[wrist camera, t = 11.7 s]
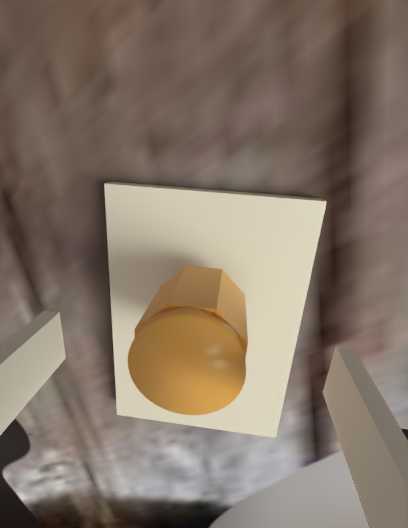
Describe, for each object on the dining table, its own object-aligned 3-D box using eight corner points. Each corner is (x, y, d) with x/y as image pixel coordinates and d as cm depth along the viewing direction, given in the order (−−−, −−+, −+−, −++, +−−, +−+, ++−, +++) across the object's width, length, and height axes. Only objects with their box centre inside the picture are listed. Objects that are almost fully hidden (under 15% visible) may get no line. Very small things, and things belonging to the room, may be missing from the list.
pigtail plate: (113, 181, 20) (31, 197, 12) (320, 198, 19) (380, 227, 11) (123, 401, 27) (75, 502, 19) (273, 422, 26) (289, 539, 18)
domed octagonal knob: (160, 262, 18) (125, 310, 12) (248, 271, 17) (253, 325, 12) (159, 336, 20) (129, 406, 14) (238, 345, 19) (238, 422, 14)
